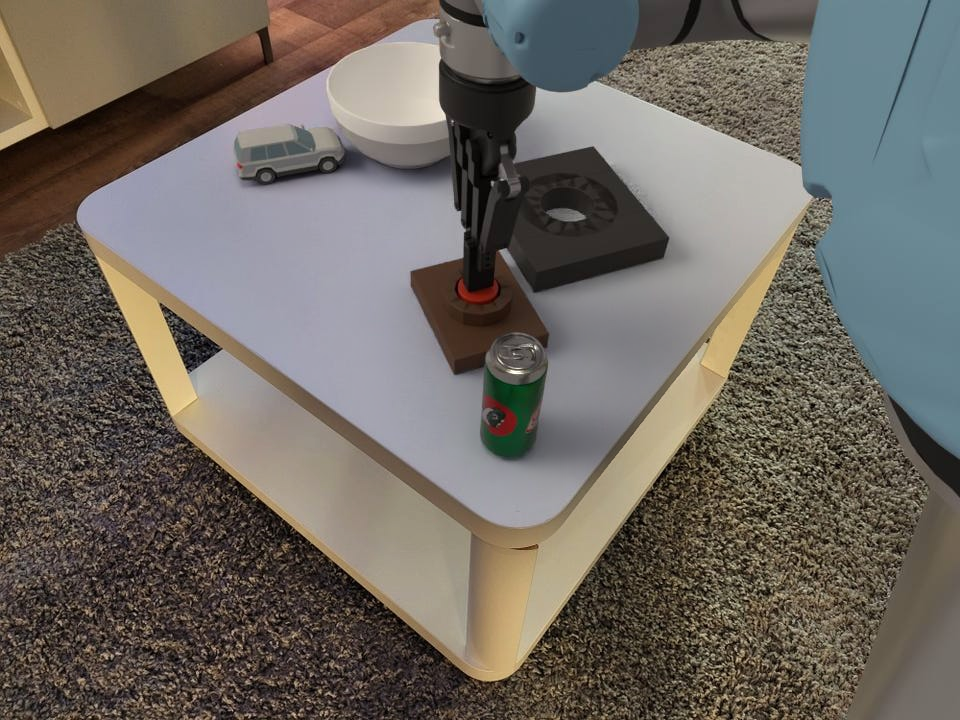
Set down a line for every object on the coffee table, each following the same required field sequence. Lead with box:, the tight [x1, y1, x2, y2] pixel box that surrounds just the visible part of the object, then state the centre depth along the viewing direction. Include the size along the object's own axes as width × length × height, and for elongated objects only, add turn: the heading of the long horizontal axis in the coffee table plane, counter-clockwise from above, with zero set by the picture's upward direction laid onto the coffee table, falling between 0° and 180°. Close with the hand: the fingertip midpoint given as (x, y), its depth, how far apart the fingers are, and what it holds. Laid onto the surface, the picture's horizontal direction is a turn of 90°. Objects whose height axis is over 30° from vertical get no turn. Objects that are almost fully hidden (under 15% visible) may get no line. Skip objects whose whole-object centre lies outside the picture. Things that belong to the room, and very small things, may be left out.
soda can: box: [479, 332, 549, 459], centre depth 64 cm, size 5×5×12 cm
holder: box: [506, 145, 670, 294], centre depth 87 cm, size 18×16×3 cm
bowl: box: [325, 41, 450, 170], centre depth 94 cm, size 19×19×9 cm
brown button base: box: [409, 250, 550, 375], centre depth 77 cm, size 13×10×4 cm
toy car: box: [233, 123, 346, 185], centre depth 91 cm, size 6×13×5 cm, turn 110°
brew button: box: [458, 278, 498, 306], centre depth 76 cm, size 4×4×2 cm
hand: (478, 284), depth 75 cm, fingers closed
